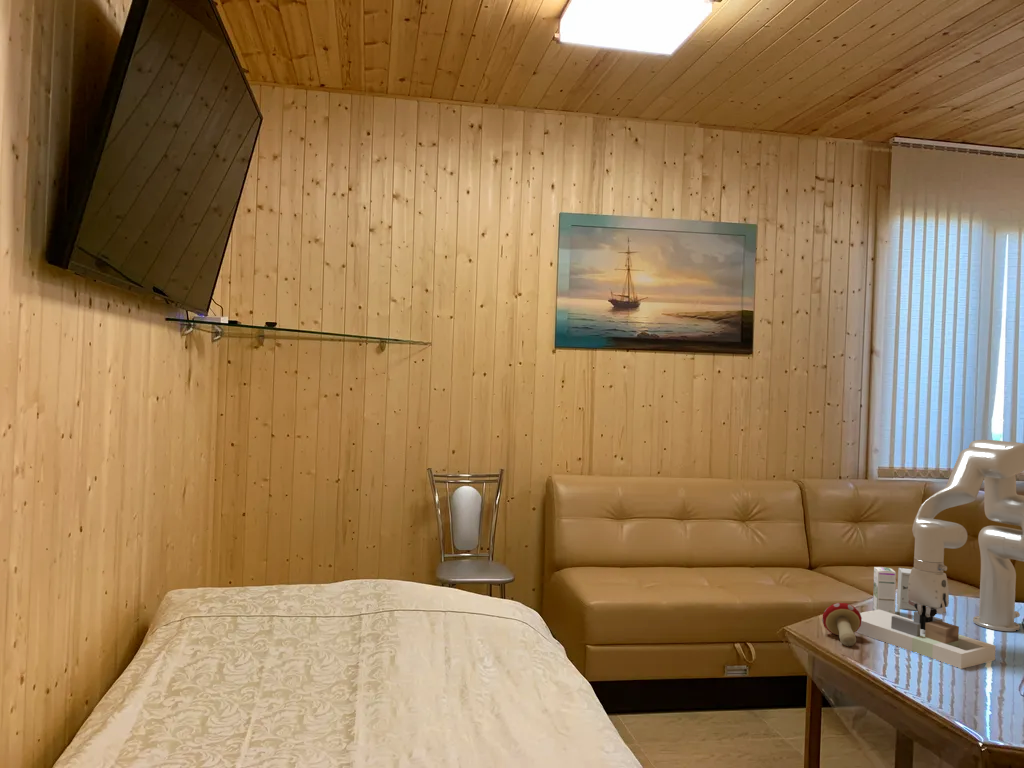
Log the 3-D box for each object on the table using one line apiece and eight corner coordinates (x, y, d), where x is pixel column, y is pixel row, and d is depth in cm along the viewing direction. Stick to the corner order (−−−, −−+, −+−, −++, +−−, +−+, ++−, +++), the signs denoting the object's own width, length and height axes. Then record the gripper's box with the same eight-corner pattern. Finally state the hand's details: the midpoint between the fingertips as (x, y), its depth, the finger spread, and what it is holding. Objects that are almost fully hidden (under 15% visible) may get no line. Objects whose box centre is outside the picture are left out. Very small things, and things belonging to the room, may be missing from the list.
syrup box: (895, 615, 253) (897, 571, 253) (876, 614, 254) (878, 570, 254) (890, 610, 259) (892, 567, 259) (871, 609, 260) (873, 566, 260)
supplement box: (899, 609, 261) (900, 571, 261) (896, 603, 268) (898, 567, 268) (923, 612, 259) (925, 574, 259) (920, 606, 266) (921, 569, 266)
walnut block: (937, 634, 223) (938, 620, 223) (958, 640, 218) (958, 626, 218) (924, 636, 220) (925, 622, 220) (945, 643, 215) (945, 629, 215)
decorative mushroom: (858, 621, 218) (847, 589, 231) (821, 636, 221) (812, 604, 235) (877, 650, 220) (865, 617, 233) (840, 664, 224) (830, 631, 237)
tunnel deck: (878, 621, 246) (879, 598, 246) (995, 660, 215) (996, 633, 215) (845, 628, 238) (846, 604, 238) (960, 668, 207) (962, 641, 207)
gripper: (961, 571, 219) (959, 635, 219) (912, 559, 232) (909, 620, 232) (945, 573, 215) (942, 639, 215) (896, 561, 228) (893, 623, 229)
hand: (925, 629), depth 224 cm, fingers closed
